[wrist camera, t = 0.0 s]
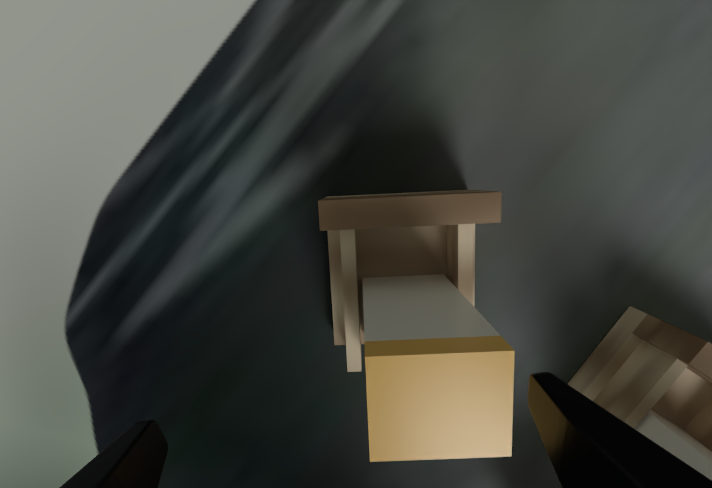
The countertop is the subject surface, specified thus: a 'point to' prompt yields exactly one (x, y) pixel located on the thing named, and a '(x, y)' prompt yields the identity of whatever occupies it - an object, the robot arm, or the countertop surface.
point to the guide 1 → (398, 246)
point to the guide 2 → (651, 374)
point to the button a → (433, 373)
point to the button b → (676, 442)
